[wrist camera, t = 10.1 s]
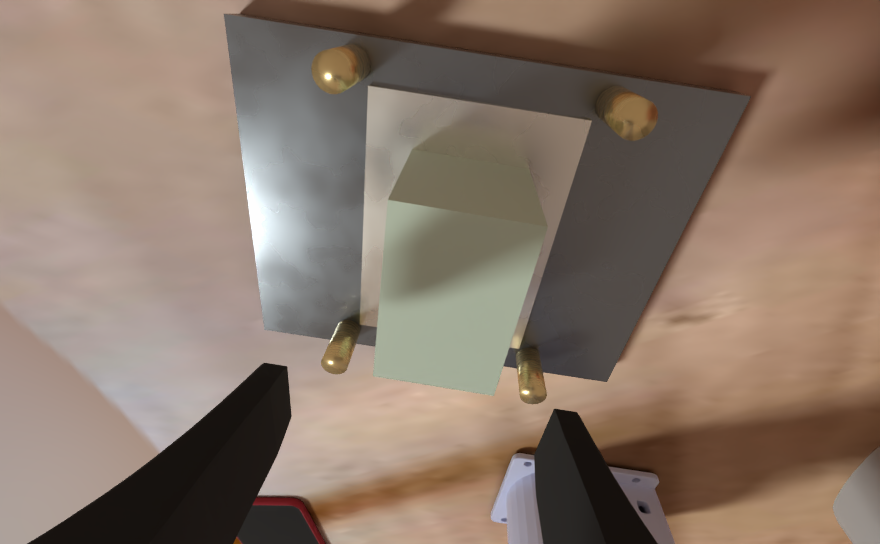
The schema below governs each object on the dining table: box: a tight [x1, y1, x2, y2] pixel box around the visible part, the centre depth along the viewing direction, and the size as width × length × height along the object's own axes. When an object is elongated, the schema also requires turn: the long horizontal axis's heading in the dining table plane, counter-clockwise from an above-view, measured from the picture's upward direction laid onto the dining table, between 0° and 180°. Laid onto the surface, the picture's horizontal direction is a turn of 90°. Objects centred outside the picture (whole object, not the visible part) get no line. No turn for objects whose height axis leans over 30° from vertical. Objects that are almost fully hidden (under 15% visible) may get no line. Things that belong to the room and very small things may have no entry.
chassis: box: [224, 14, 751, 404], centre depth 17 cm, size 18×14×4 cm
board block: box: [373, 149, 548, 396], centre depth 15 cm, size 4×7×5 cm, turn 172°
